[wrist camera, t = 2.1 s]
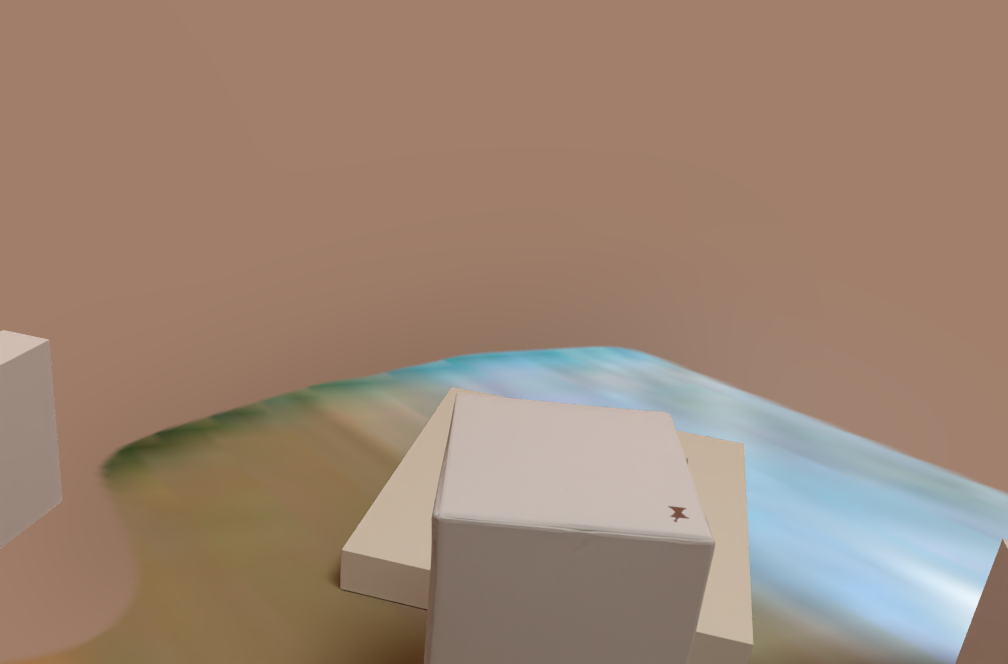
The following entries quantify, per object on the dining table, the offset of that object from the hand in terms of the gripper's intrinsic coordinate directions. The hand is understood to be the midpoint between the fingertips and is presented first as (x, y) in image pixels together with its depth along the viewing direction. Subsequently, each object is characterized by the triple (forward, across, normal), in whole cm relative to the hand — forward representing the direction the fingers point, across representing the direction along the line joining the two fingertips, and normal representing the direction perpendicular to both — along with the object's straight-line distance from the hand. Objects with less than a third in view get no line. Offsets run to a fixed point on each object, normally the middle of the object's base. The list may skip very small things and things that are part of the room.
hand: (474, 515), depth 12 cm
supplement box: (+13, 0, -19) cm, 23 cm away
